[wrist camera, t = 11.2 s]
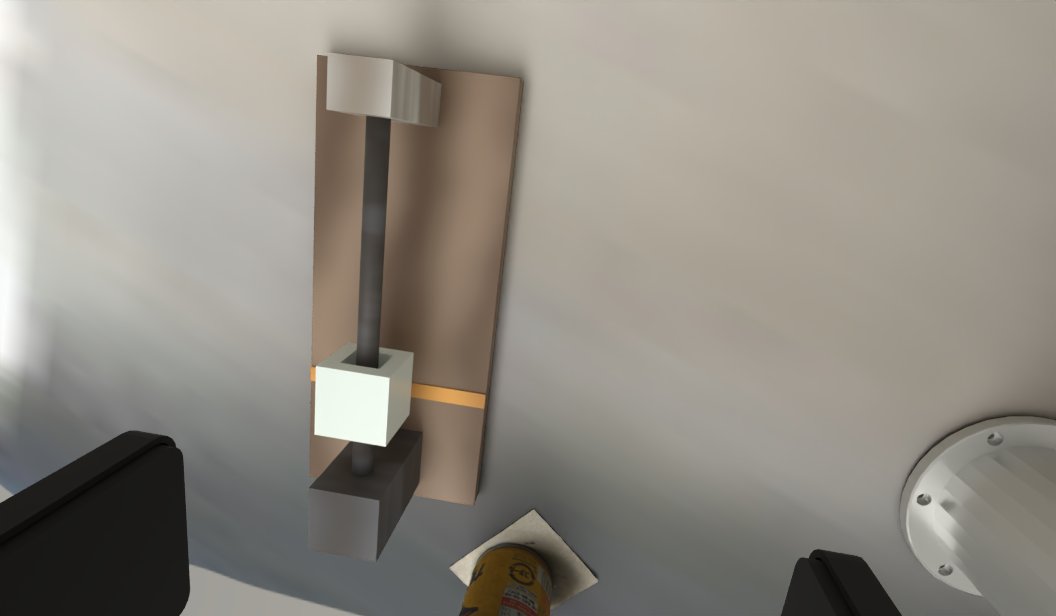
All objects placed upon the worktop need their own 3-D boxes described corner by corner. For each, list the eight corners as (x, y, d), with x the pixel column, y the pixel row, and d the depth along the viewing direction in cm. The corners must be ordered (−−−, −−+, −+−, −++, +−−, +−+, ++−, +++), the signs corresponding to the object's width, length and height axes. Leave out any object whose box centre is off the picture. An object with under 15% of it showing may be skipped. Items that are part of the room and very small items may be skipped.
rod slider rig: (523, 81, 33) (495, 51, 24) (478, 493, 41) (443, 590, 31) (329, 59, 34) (231, 22, 25) (319, 465, 41) (241, 551, 32)
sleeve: (413, 352, 33) (389, 377, 29) (409, 414, 34) (385, 446, 30) (348, 342, 33) (315, 366, 29) (346, 403, 34) (314, 434, 30)
